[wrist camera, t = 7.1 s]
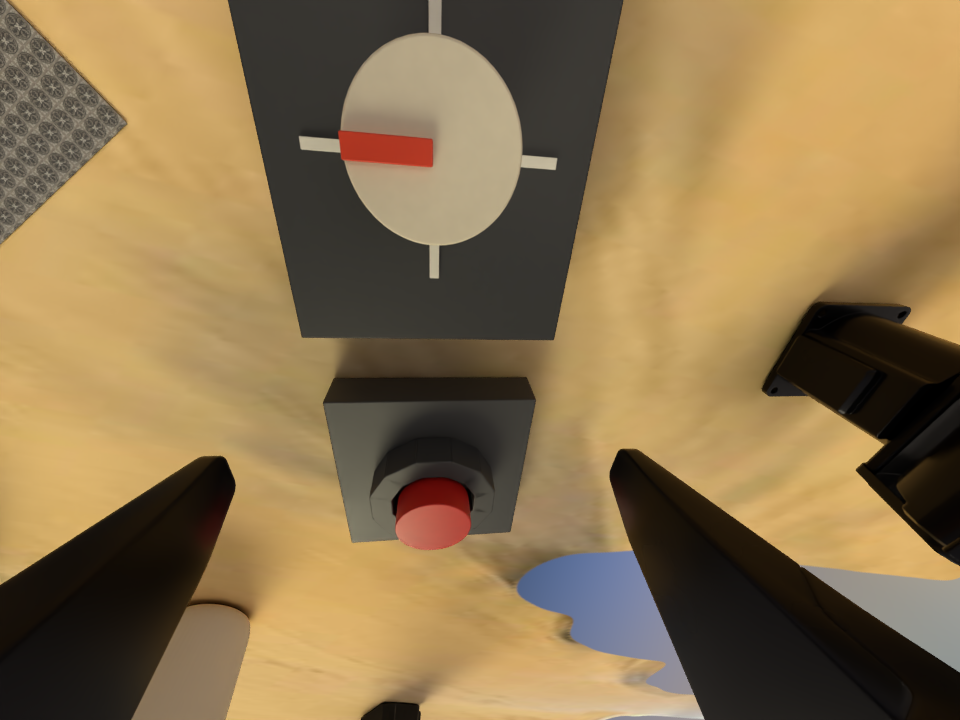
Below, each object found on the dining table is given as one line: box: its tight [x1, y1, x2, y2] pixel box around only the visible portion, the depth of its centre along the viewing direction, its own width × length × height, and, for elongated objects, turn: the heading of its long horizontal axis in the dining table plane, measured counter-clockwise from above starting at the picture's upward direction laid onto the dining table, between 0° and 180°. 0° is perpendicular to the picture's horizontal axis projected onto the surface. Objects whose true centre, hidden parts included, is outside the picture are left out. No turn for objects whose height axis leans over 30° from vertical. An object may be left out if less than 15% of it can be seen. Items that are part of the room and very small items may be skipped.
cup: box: [132, 604, 250, 720], centre depth 27 cm, size 11×8×8 cm
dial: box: [338, 33, 523, 246], centre depth 9 cm, size 4×4×4 cm
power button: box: [395, 477, 471, 550], centre depth 19 cm, size 4×4×2 cm
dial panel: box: [228, 0, 623, 340], centre depth 13 cm, size 11×14×3 cm
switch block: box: [323, 377, 536, 543], centre depth 21 cm, size 11×12×4 cm
